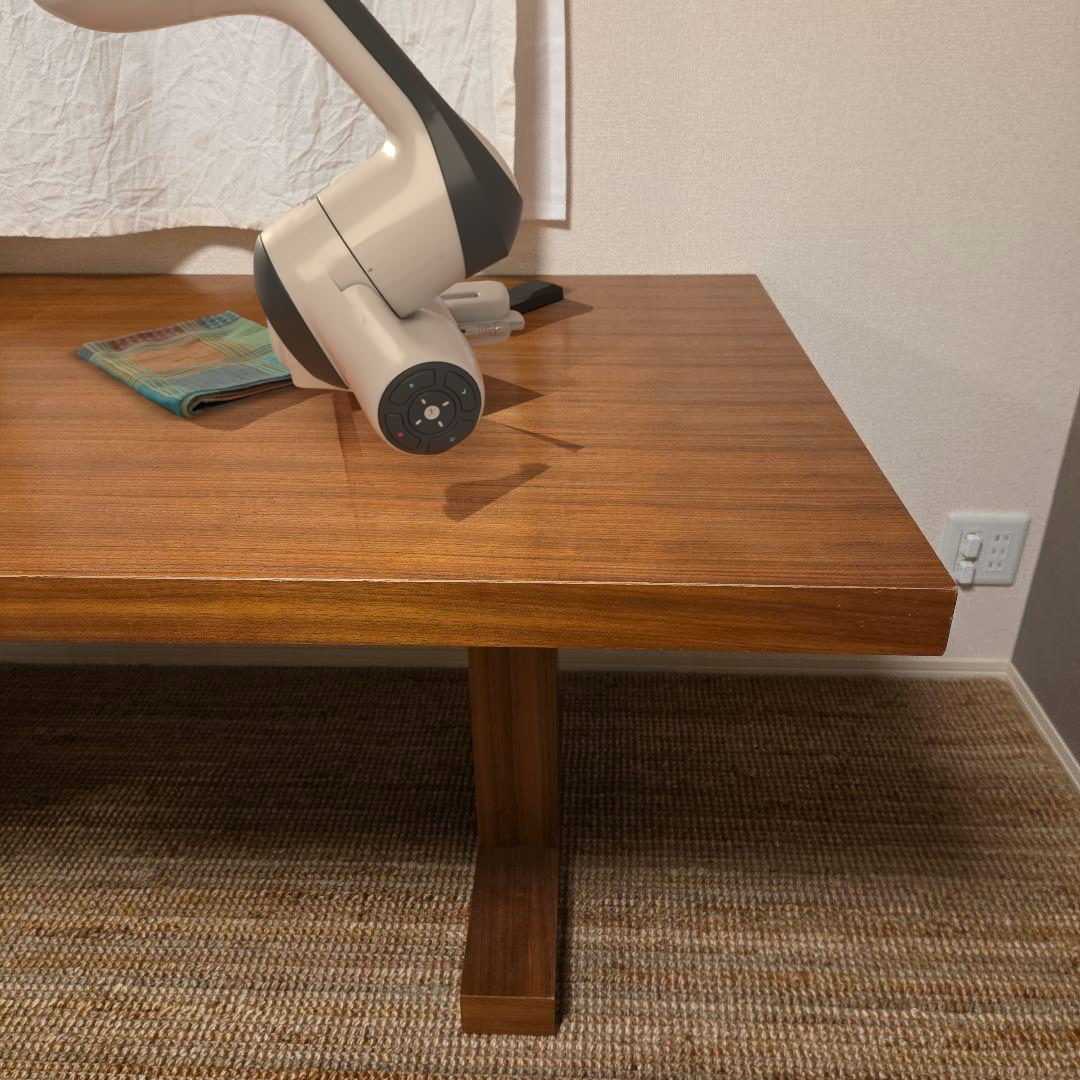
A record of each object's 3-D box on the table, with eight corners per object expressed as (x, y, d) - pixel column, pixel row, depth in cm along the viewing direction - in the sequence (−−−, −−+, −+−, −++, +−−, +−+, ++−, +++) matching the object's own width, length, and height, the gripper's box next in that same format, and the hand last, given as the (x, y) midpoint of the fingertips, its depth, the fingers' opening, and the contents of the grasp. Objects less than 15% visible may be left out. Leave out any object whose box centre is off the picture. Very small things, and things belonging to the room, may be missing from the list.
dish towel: (184, 430, 84) (178, 401, 82) (74, 362, 99) (68, 337, 98) (357, 380, 94) (354, 353, 93) (234, 326, 109) (230, 303, 108)
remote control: (481, 333, 108) (567, 297, 118) (480, 316, 107) (566, 282, 117) (448, 324, 111) (534, 290, 121) (447, 308, 110) (534, 275, 120)
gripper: (529, 289, 79) (493, 250, 91) (262, 309, 75) (260, 265, 87) (530, 366, 82) (495, 318, 94) (274, 390, 78) (271, 337, 90)
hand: (381, 293), depth 90 cm, fingers open, 8 cm apart
